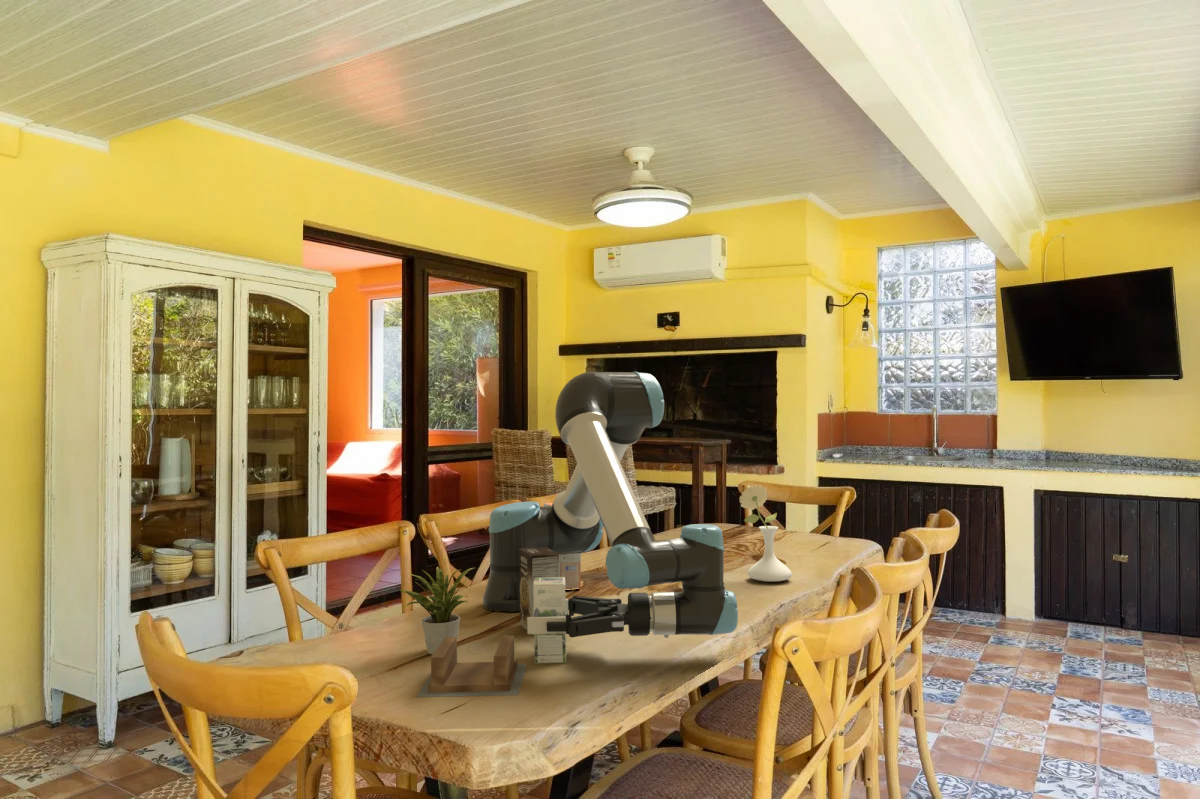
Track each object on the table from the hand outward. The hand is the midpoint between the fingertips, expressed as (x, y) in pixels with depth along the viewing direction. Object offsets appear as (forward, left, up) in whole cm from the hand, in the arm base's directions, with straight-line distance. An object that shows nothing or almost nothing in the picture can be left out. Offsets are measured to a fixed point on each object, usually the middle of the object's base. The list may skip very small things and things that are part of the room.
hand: (530, 616), depth 146 cm
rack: (+13, +2, -8) cm, 16 cm away
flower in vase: (-86, -6, -8) cm, 86 cm away
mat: (+13, +2, -8) cm, 16 cm away
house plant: (+6, -17, -8) cm, 20 cm away
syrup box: (-3, +3, -8) cm, 9 cm away
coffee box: (-16, -15, -8) cm, 23 cm away
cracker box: (-46, -42, -8) cm, 63 cm away
